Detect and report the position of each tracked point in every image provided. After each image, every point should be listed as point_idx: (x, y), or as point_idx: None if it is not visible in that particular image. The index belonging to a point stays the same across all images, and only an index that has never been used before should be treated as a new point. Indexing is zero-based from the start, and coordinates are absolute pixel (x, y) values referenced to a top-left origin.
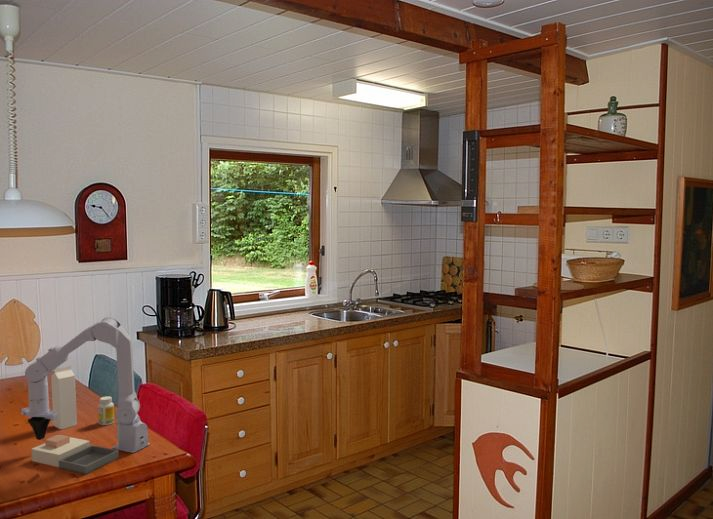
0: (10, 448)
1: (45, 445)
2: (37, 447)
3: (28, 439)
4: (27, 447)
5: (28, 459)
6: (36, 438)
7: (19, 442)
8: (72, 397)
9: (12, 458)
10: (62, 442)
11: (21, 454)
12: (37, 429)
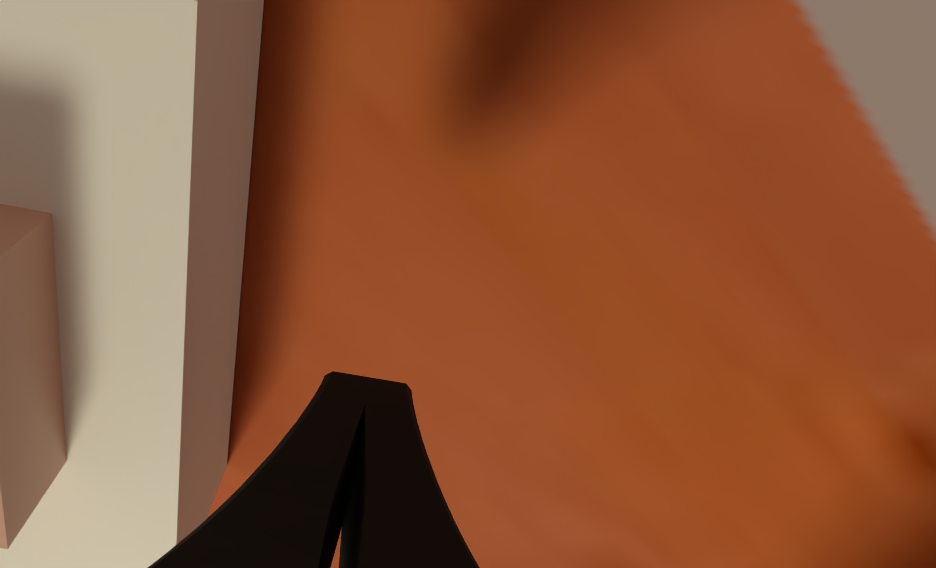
0: (923, 323)
1: (45, 215)
2: (133, 102)
3: (826, 562)
4: (697, 387)
5: (382, 23)
6: (402, 390)
7: (894, 485)
8: None
9: (684, 7)
10: None
11: (633, 176)
12: (263, 520)
